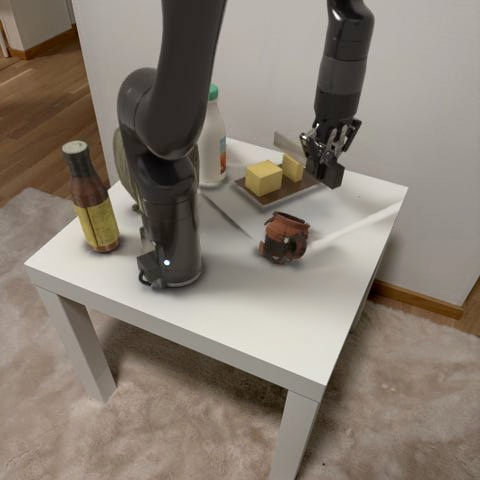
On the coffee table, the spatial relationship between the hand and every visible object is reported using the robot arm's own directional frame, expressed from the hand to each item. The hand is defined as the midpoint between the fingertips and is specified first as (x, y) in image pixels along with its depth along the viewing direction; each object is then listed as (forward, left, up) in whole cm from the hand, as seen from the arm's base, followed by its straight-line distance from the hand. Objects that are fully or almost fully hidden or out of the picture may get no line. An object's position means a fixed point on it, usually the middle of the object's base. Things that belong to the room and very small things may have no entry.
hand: (322, 175), depth 87 cm
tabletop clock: (-26, +18, -9) cm, 33 cm away
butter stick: (-5, +12, -7) cm, 15 cm away
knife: (0, +6, -1) cm, 6 cm away
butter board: (-1, +12, -9) cm, 15 cm away
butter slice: (+3, +12, -7) cm, 14 cm away
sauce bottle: (-41, +15, -9) cm, 45 cm away
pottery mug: (-13, -6, -9) cm, 17 cm away
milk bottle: (-12, +23, -9) cm, 28 cm away
